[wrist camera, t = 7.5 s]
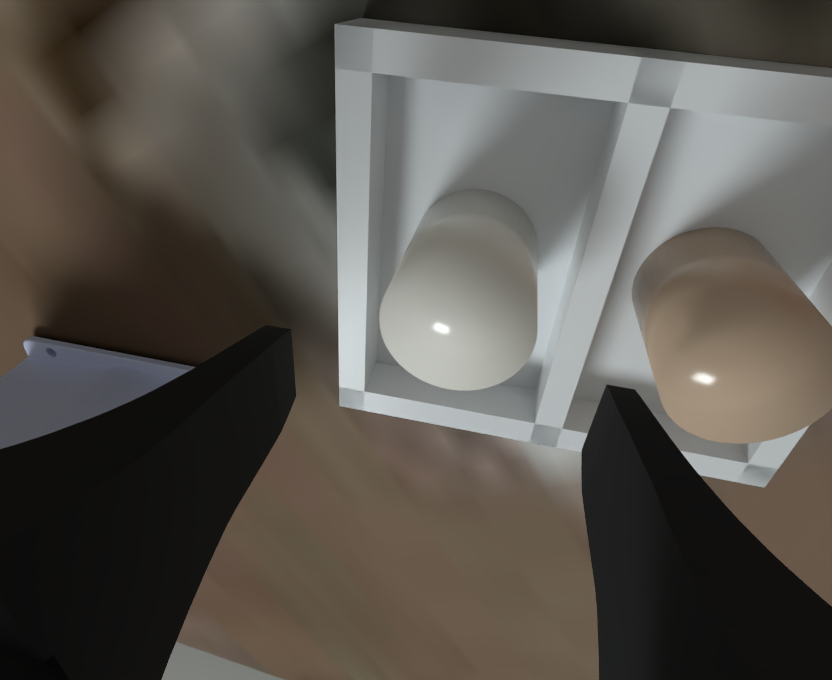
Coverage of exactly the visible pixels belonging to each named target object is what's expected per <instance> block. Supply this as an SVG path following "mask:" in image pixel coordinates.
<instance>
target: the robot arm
mask: <svg viewBox="0 0 832 680" xmlns="http://www.w3.org/2000/svg"><path fill="white" fill-rule="evenodd" d="M23 344H24V348H25V350H26V352H27V354H28V358H26V359H25V360H23V361H22V362H21V363H19V364H18V365H17V366H15V367H14V368H13V369H11V370H10V371H9V372H7V373H6V374H5V375H3V376H2V377H1V378H0V680H161V679H162V676H163V673H164V671H165V668H166V666H167V663H168V660H169V657H170V655H171V653H172V650H173V648H174V645H175V643H176V640H177V638H178V635H179V633H180V630H181V628H182V626H183V623H184V621H185V618H186V616H187V613H188V611H189V608H190V606H191V604H192V601H193V599H194V597H195V594H196V592H197V590H198V588H199V585H200V583H201V581H202V578H203V576H204V574H205V571H206V569H207V567H208V565H209V562H210V560H211V558H212V556H213V554H214V552H215V549H216V547H217V545H218V543H219V541H220V539H221V536H222V534H223V532H224V530H225V528H226V526H227V524H228V522H229V520H230V518H231V517H232V515H233V513H234V511H235V509H236V507H237V506H238V504H239V502H240V501H241V499H242V497H243V496H244V494H245V492H246V491H247V489H248V487H249V486H250V484H251V482H252V481H253V479H254V477H255V476H256V474H257V472H258V471H259V469H260V467H261V465H262V464H263V462H264V460H265V459H266V457H267V455H268V454H269V452H270V450H271V448H272V447H273V445H274V443H275V442H276V440H277V438H278V436H279V435H280V433H281V431H282V429H283V426H284V424H285V422H286V419H287V417H288V415H289V412H290V410H291V407H292V405H293V402H294V400H295V397H296V387H295V374H294V361H293V348H292V335H291V329H285V328H280V327H274V326H268V325H266V326H264V327H262V328H260V329H259V330H257V331H255V332H253V333H252V334H250V335H248V336H247V337H245V338H243V339H242V340H240V341H239V342H237V343H235V344H234V345H232V346H230V347H229V348H227V349H226V350H224V351H222V352H221V353H219V354H217V355H216V356H214V357H212V358H210V359H209V360H207V361H205V362H204V363H202V364H200V365H199V366H197V367H193V366H188V365H183V364H177V363H172V362H167V361H161V360H156V359H151V358H146V357H140V356H135V355H130V354H124V353H119V352H114V351H109V350H103V349H98V348H93V347H88V346H82V345H77V344H72V343H66V342H61V341H56V340H51V339H45V338H40V337H35V336H31V337H30V338H28V339H27V340H25V341H24V343H23ZM582 496H583V504H584V511H585V519H586V526H587V533H588V540H589V547H590V554H591V562H592V569H593V576H594V583H595V591H596V602H597V618H598V645H599V680H832V606H830V605H829V604H828V603H827V602H826V601H824V600H823V599H822V598H821V597H820V596H819V595H817V594H816V593H815V592H814V591H813V590H812V589H811V588H810V587H808V586H807V585H806V584H805V583H804V582H803V581H802V580H801V579H799V578H798V577H797V576H796V575H795V574H794V573H793V572H792V571H790V570H789V569H788V568H787V567H786V566H785V565H784V564H783V563H782V562H781V561H780V560H778V559H777V558H776V557H775V556H774V555H773V554H772V553H771V552H770V551H769V550H768V549H767V548H766V547H765V546H764V545H763V544H762V543H761V542H760V541H759V540H758V539H757V538H756V537H755V536H754V535H753V534H752V533H751V532H750V531H749V530H748V529H747V528H746V527H745V526H744V525H743V524H742V523H741V522H740V521H739V520H738V519H737V518H736V516H735V515H734V514H733V513H732V512H731V511H730V510H729V509H728V508H727V507H726V506H725V504H724V503H723V502H722V501H721V500H720V499H719V498H718V496H717V495H716V494H715V493H714V492H713V491H712V489H711V488H710V487H709V486H708V485H707V484H706V483H705V481H704V480H703V479H702V478H701V477H700V475H699V474H698V473H697V472H696V470H695V469H694V468H693V467H692V465H691V464H690V463H689V462H688V460H687V459H686V458H685V457H684V455H683V454H682V453H681V451H680V450H679V449H678V447H677V446H676V445H675V443H674V442H673V441H672V439H671V438H670V437H669V435H668V434H667V433H666V431H665V430H664V429H663V427H662V426H661V424H660V423H659V422H658V420H657V419H656V418H655V416H654V415H653V413H652V412H651V411H650V409H649V408H648V406H647V405H646V404H645V402H644V401H643V399H642V398H641V397H640V395H639V394H638V393H637V391H636V390H635V389H630V388H624V387H618V386H613V385H607V384H606V387H605V389H604V392H603V395H602V397H601V400H600V403H599V405H598V408H597V411H596V413H595V416H594V419H593V421H592V424H591V426H590V429H589V432H588V434H587V437H586V440H585V442H584V445H583V448H582Z"/></svg>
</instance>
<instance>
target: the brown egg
mask: <svg viewBox="0 0 832 680" xmlns="http://www.w3.org/2000/svg"><path fill="white" fill-rule="evenodd" d="M632 303H633V307H634V311H635V314H636V317H637V321H638V324H639V328H640V331H641V335H642V338H643V341H644V345H645V348H646V352H647V355H648V358H649V362H650V365H651V369H652V372H653V376H654V379H655V382H656V386H657V389H658V393H659V396H660V399H661V402H662V405H663V408H664V410H665V411H666V413H667V414H668V416H669V417H670V418H671V419H672V420H673V422H675V423H676V424H677V425H678V426H679V427H681V428H682V429H684V430H685V431H687V432H689V433H691V434H693V435H695V436H697V437H700V438H703V439H706V440H711V441H715V442H721V443H732V444H745V443H757V442H763V441H768V440H773V439H777V438H780V437H784V436H787V435H789V434H792V433H794V432H797V431H799V430H801V429H803V428H805V427H807V426H809V425H810V424H812V423H814V422H815V421H817V420H818V419H820V418H821V417H822V416H824V415H825V414H826V413H827V412H828V411H829V410H830V409H832V326H831V325H830V324H829V322H828V321H827V320H826V319H825V318H824V316H823V315H822V314H821V313H820V312H819V311H818V309H817V308H816V307H815V306H814V305H813V303H812V302H811V301H810V300H809V299H808V298H807V296H806V295H805V294H804V293H803V292H802V290H801V289H800V288H799V287H798V286H797V285H796V283H795V282H794V281H793V280H792V279H791V277H790V276H789V275H788V274H787V273H786V272H785V270H784V269H783V268H782V267H781V266H780V265H779V263H778V262H777V261H776V260H775V259H774V257H773V256H772V255H771V254H770V253H769V252H768V250H767V249H766V248H765V247H764V246H763V245H762V244H761V243H760V242H759V241H758V240H757V239H755V238H754V237H752V236H750V235H748V234H747V233H744V232H742V231H739V230H735V229H730V228H723V227H707V228H701V229H695V230H692V231H688V232H685V233H682V234H680V235H677V236H675V237H673V238H671V239H669V240H668V241H666V242H664V243H663V244H661V245H660V246H659V247H657V248H656V249H655V250H654V251H653V252H652V253H651V254H650V255H649V256H648V257H647V258H646V259H645V260H644V262H643V263H642V264H641V266H640V268H639V269H638V271H637V273H636V275H635V278H634V281H633V285H632Z"/></svg>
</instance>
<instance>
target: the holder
mask: <svg viewBox="0 0 832 680" xmlns="http://www.w3.org/2000/svg"><path fill="white" fill-rule="evenodd" d="M334 25H335V101H336V177H337V253H338V329H339V405H340V406H343V407H348V408H353V409H359V410H364V411H369V412H374V413H379V414H385V415H390V416H395V417H400V418H405V419H411V420H416V421H421V422H426V423H431V424H437V425H442V426H447V427H452V428H457V429H463V430H468V431H473V432H478V433H484V434H489V435H494V436H499V437H504V438H510V439H515V440H520V441H525V442H530V443H536V444H541V445H546V446H551V447H556V448H562V449H567V450H572V451H577V452H582V448H583V445H584V442H585V440H586V437H587V434H588V432H589V429H590V426H591V424H592V421H593V419H594V416H595V413H596V411H597V408H598V405H599V403H600V400H601V397H602V395H603V392H604V389H605V387H606V384H607V385H613V386H618V387H624V388H630V389H635V390H636V391H637V393H638V394H639V395H640V397H641V398H642V399H643V401H644V402H645V404H646V405H647V406H648V408H649V409H650V411H651V412H652V413H653V415H654V416H655V418H656V419H657V420H658V422H659V423H660V424H661V426H662V427H663V429H664V430H665V431H666V433H667V434H668V435H669V437H670V438H671V439H672V441H673V442H674V443H675V445H676V446H677V447H678V449H679V450H680V451H681V453H682V454H683V455H684V457H685V458H686V459H687V460H688V462H689V463H690V464H691V465H692V467H693V468H694V469H695V470H696V472H697V473H698V474H699V475H702V476H707V477H713V478H718V479H723V480H728V481H734V482H739V483H744V484H749V485H754V486H760V487H765V486H766V485H767V483H768V482H769V481H770V479H771V478H772V477H773V475H774V474H775V472H776V471H777V470H778V468H779V467H780V465H781V464H782V463H783V461H784V460H785V459H786V457H787V456H788V454H789V453H790V452H791V450H792V449H793V448H794V446H795V445H796V443H797V442H798V441H799V439H800V438H801V436H802V435H803V434H804V432H805V431H806V430H807V428H808V427H809V426H807V427H805V428H803V429H801V430H799V431H797V432H794V433H792V434H789V435H787V436H784V437H780V438H777V439H773V440H768V441H763V442H757V443H745V444H732V443H721V442H715V441H711V440H706V439H703V438H700V437H697V436H695V435H693V434H691V433H689V432H687V431H685V430H684V429H682V428H681V427H679V426H678V425H677V424H676V423H675V422H673V420H672V419H671V418H670V417H669V416H668V414H667V413H666V411H665V410H664V408H663V405H662V402H661V399H660V396H659V393H658V389H657V386H656V382H655V379H654V376H653V372H652V369H651V365H650V362H649V358H648V355H647V352H646V348H645V345H644V341H643V338H642V335H641V331H640V328H639V324H638V321H637V317H636V314H635V311H634V307H633V303H632V285H633V281H634V278H635V275H636V273H637V271H638V269H639V268H640V266H641V264H642V263H643V262H644V260H645V259H646V258H647V257H648V256H649V255H650V254H651V253H652V252H653V251H654V250H655V249H656V248H657V247H659V246H660V245H661V244H663V243H664V242H666V241H668V240H669V239H671V238H673V237H675V236H677V235H680V234H682V233H685V232H688V231H692V230H695V229H701V228H707V227H723V228H730V229H735V230H739V231H742V232H744V233H747V234H748V235H750V236H752V237H754V238H755V239H757V240H758V241H759V242H760V243H761V244H762V245H763V246H764V247H765V248H766V249H767V250H768V252H769V253H770V254H771V255H772V256H773V257H774V259H775V260H776V261H777V262H778V263H779V265H780V266H781V267H782V268H783V269H784V270H785V272H786V273H787V274H788V275H789V276H790V277H791V279H792V280H793V281H794V282H795V283H796V285H797V286H798V287H799V288H800V289H801V290H802V292H803V293H804V294H805V295H806V296H807V298H808V299H809V300H810V301H811V302H812V303H813V305H814V306H815V307H816V308H817V309H818V311H819V312H820V313H821V314H822V315H823V316H824V318H825V319H826V320H827V321H828V322H829V324H830V325H831V326H832V68H828V67H819V66H810V65H800V64H791V63H781V62H772V61H762V60H753V59H743V58H734V57H725V56H715V55H706V54H696V53H687V52H677V51H668V50H658V49H649V48H640V47H630V46H621V45H611V44H602V43H592V42H583V41H573V40H564V39H555V38H545V37H536V36H526V35H517V34H507V33H498V32H488V31H479V30H470V29H460V28H451V27H441V26H432V25H422V24H413V23H403V22H394V21H385V20H375V19H366V18H360V19H355V20H351V21H346V22H342V23H337V24H334ZM468 189H482V190H488V191H492V192H496V193H499V194H501V195H503V196H505V197H507V198H509V199H510V200H512V201H514V202H515V203H516V204H517V205H518V206H520V207H521V209H522V210H523V211H524V212H525V213H526V214H527V216H528V217H529V219H530V220H531V222H532V224H533V226H534V229H535V232H536V236H537V243H538V332H537V340H536V343H535V347H534V350H533V352H532V354H531V356H530V358H529V359H528V361H527V362H526V364H525V365H524V366H523V367H522V368H521V369H520V370H519V371H518V372H517V373H516V374H514V375H513V376H512V377H510V378H509V379H507V380H505V381H504V382H501V383H499V384H497V385H494V386H491V387H488V388H484V389H479V390H470V391H459V390H450V389H445V388H440V387H437V386H434V385H431V384H429V383H426V382H424V381H422V380H420V379H418V378H417V377H415V376H413V375H412V374H410V373H409V372H408V371H406V370H405V369H404V368H403V367H402V366H401V365H400V364H399V363H398V362H397V361H396V360H395V359H394V358H393V356H392V355H391V353H390V352H389V350H388V348H387V347H386V345H385V343H384V340H383V337H382V334H381V330H380V322H379V315H380V307H381V303H382V300H383V298H384V295H385V293H386V291H387V289H388V287H389V285H390V282H391V280H392V278H393V276H394V274H395V272H396V270H397V268H398V266H399V264H400V262H401V260H402V258H403V256H404V254H405V251H406V249H407V247H408V245H409V243H410V241H411V239H412V237H413V235H414V233H415V231H416V229H417V227H418V225H419V223H420V221H421V219H422V217H423V216H424V214H425V213H426V212H427V210H428V209H429V208H430V207H431V206H432V205H433V204H434V203H435V202H437V201H438V200H440V199H441V198H443V197H445V196H447V195H449V194H451V193H454V192H457V191H462V190H468Z"/></svg>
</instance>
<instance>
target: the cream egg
mask: <svg viewBox="0 0 832 680" xmlns="http://www.w3.org/2000/svg"><path fill="white" fill-rule="evenodd" d="M379 322H380V330H381V334H382V337H383V340H384V343H385V345H386V347H387V348H388V350H389V352H390V353H391V355H392V356H393V358H394V359H395V360H396V361H397V362H398V363H399V364H400V365H401V366H402V367H403V368H404V369H405V370H406V371H408V372H409V373H410V374H412V375H413V376H415V377H417V378H418V379H420V380H422V381H424V382H426V383H429V384H431V385H434V386H437V387H440V388H445V389H450V390H459V391H470V390H479V389H484V388H488V387H491V386H494V385H497V384H499V383H501V382H504V381H505V380H507V379H509V378H510V377H512V376H513V375H514V374H516V373H517V372H518V371H519V370H520V369H521V368H522V367H523V366H524V365H525V364H526V362H527V361H528V359H529V358H530V356H531V354H532V352H533V350H534V347H535V343H536V340H537V332H538V243H537V236H536V232H535V229H534V226H533V224H532V222H531V220H530V219H529V217H528V216H527V214H526V213H525V212H524V211H523V210H522V209H521V207H520V206H518V205H517V204H516V203H515V202H514V201H512V200H510V199H509V198H507V197H505V196H503V195H501V194H499V193H496V192H492V191H488V190H482V189H468V190H462V191H457V192H454V193H451V194H449V195H447V196H445V197H443V198H441V199H440V200H438V201H437V202H435V203H434V204H433V205H432V206H431V207H430V208H429V209H428V210H427V212H426V213H425V214H424V216H423V217H422V219H421V221H420V223H419V225H418V227H417V229H416V231H415V233H414V235H413V237H412V239H411V241H410V243H409V245H408V247H407V249H406V251H405V254H404V256H403V258H402V260H401V262H400V264H399V266H398V268H397V270H396V272H395V274H394V276H393V278H392V280H391V282H390V285H389V287H388V289H387V291H386V293H385V295H384V298H383V300H382V303H381V307H380V315H379Z"/></svg>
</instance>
